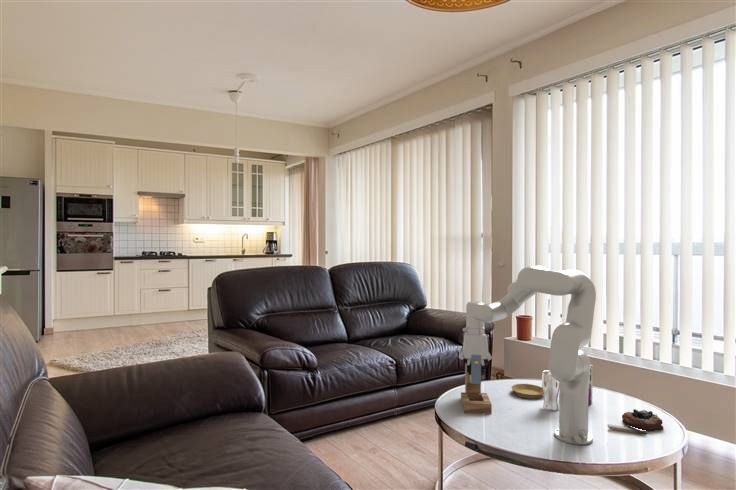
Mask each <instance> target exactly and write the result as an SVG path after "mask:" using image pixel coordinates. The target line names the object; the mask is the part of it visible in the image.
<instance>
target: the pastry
mask: <svg viewBox="0 0 736 490" xmlns="http://www.w3.org/2000/svg"><path fill="white" fill-rule="evenodd" d="M621 418H622V423H623V424H624V423H625V424H624V425H626V426H627V425H629V426H632V427H635V428H638V429H642V430H646V431H648V432H656V431H655V430H657V431H663V430H664V426H663V423H664V422H663V419H661V418H660V417H659V416H658V414H655V413H653V411H652V410H651V411H650V410H649V411H647V410H645V409H643V410H642V409H641V410H638V409H636V408H634V409H633V410H632V411H627V412H623V414H622V416H621ZM629 426H628V427H629Z"/></svg>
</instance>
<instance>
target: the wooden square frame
mask: <svg viewBox="0 0 736 490" xmlns="http://www.w3.org/2000/svg"><path fill="white" fill-rule="evenodd" d="M463 357H464V356H463ZM464 358H465V357H464ZM466 359H467V358H466ZM464 363H465V362H464ZM464 367H465V368H464V379H465V380H464V381H465V382H464V386H465V388H464V389H465V390H464V392H462V391H461V392H460V404H461V407H462V410H464V411H463V413H464V414H483V413H486V415H488V414H489V415H490V414H492V411H493V410H492V408H493V405H492V402H491V400H490V397H489V395H488V393H487V392H482V386H481V385H482V383H481V384H471V382H470V375H469V373H468V372H467V364H466V363H465V364H464Z"/></svg>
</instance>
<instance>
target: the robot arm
mask: <svg viewBox="0 0 736 490" xmlns="http://www.w3.org/2000/svg"><path fill="white" fill-rule="evenodd" d="M507 292H508V293H507V294H506V295H505V296H503V297H502V298H501V299H499V300H497V301H495V302H494V301H493V302H490V303H484V302H482V301H479V300H477V301H475V300H471V301H468V302H467V303H466V306H465V308H466V309H465V310H466V311H465V312H466V313H465V314H466V315H465V316H466V317H465V321H466V322H465V323H466V324H465V325H466V326H465V327H463V328H462V331H463V332H465V333H464V337H463V342H462V350H461V351H460V353H459V354H458V359H460V360H462V362H464V363H466V364H467V372H468V373H469V375H471V365H470V361H471V355H481V376H483V373H484V370H485V369H484V366H485V365H486V364H487V363H488V362H489V361H490V360H493V357H492V355H491V353H490V352H489V343H488V342H489V341H488V337H487V334H486V333H485V330H486V329H485V323H494V322H497V321H501V320H505V319H506V318H507V317H509V316H511V315H512V314H513V313H515V312H516V311H518V310H519V309H520V308H521V307H522V306H523V304H524V303H525V302H526V301H528V300H529V299H530V298H532V297H533V296H535V295H536V294H537V293H539V294H540V293H541V294H544V295H545V294H546V295H551V296H562V297H564V296H567V295H570V299H569V302H568V305H567V312H566V313H567V314H566V319H565V321H564V322H563V323H561V324H559V325H558V326H556V327H555V329H553V332H552V335H551V340H550V347H549V356H548V370H549V371H550V373H551V375H552V376H553V377H554V378H555V379H556V380H558V381H560V385H559V393H558V399H559V400H558V410H559V411H558V412H559V413H558V417H559V418H558V419H559V420H558V425H559V426H558V428H556V429H555V430H554V437H556V439H558V440H559V441H562V442H565V443H567V444H571V445H576V446H577V445H580V446H585V445H590V444H591V443H593V442H594V437H593V435H592V434H591V433H590V432H589V405H588V387H589V376H590V369H591V365H592V364H591V360H590V356H588V354H587V353H586V352H585V351H583V350H582V349H581V348H583V347H585V346H587V345H588V344H589V343H590V342H591V339H592V332H593V324H594V318H595V317H594V316H595V306H596V301H597V291H596V286H595V284H594V282H593V280H592V279H591V277H589V276H588V274H585V273H584V272H582V271H581V270H577V269H566V270H557V271H556V270H549V269H548V268H546V267H545V266H543V265H534V266H533V265H531V266H526V267H524V268H522V269H521V270H520V271H519V272H518V274H517V278H516V279H515V280H514V281H512V282H511V283H510V284H509V285H508V286H507ZM464 357H465V358H464ZM466 358H467V359H466Z"/></svg>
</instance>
